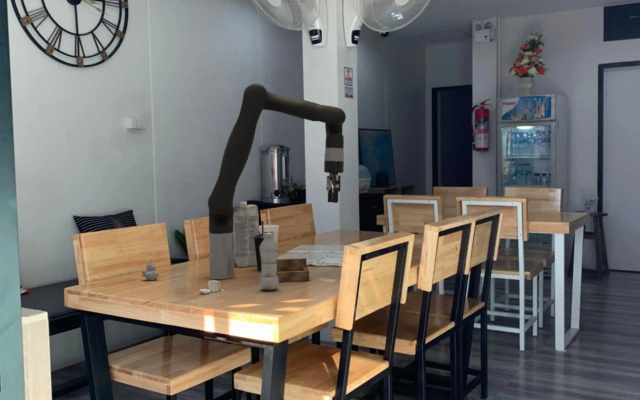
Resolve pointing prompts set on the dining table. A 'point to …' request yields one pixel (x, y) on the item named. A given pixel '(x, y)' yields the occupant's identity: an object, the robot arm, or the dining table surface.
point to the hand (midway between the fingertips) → (332, 202)
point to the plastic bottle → (269, 262)
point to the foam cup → (270, 230)
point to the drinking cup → (258, 247)
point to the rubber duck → (150, 272)
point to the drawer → (292, 270)
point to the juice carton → (245, 234)
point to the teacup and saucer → (211, 287)
